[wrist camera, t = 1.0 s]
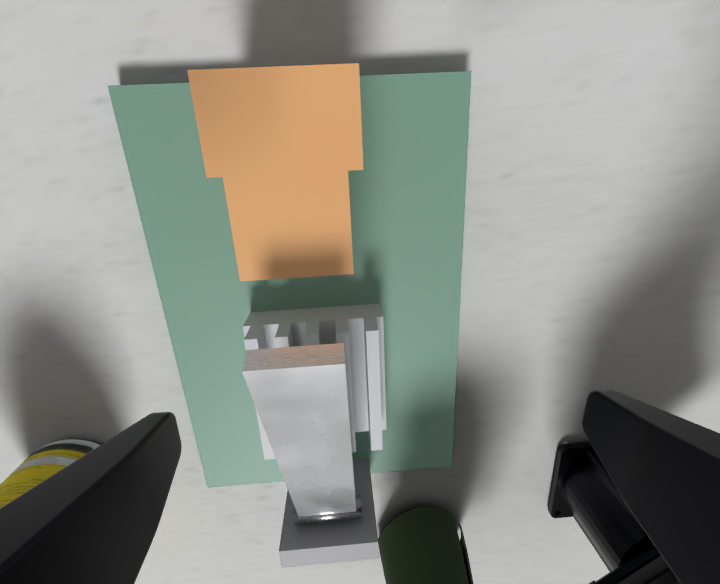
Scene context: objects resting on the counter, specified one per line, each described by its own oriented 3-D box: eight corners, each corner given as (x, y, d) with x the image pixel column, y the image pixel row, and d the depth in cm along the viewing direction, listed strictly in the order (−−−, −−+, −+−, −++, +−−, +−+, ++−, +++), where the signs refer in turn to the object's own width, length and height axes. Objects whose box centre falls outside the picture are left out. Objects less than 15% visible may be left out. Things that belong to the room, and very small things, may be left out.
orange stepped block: (357, 238, 19) (367, 273, 13) (259, 243, 19) (225, 282, 13) (350, 96, 17) (359, 62, 11) (239, 101, 17) (186, 69, 11)
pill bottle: (8, 459, 23) (-276, 721, 13) (92, 417, 23) (-132, 655, 12) (80, 523, 26) (-109, 795, 15) (158, 487, 25) (21, 742, 14)
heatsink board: (447, 455, 26) (482, 548, 19) (212, 475, 25) (172, 578, 19) (463, 75, 18) (531, 32, 12) (120, 89, 17) (-1, 51, 11)
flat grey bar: (361, 497, 21) (362, 521, 20) (296, 503, 21) (295, 528, 20) (353, 337, 12) (355, 368, 11) (237, 345, 11) (230, 377, 11)
